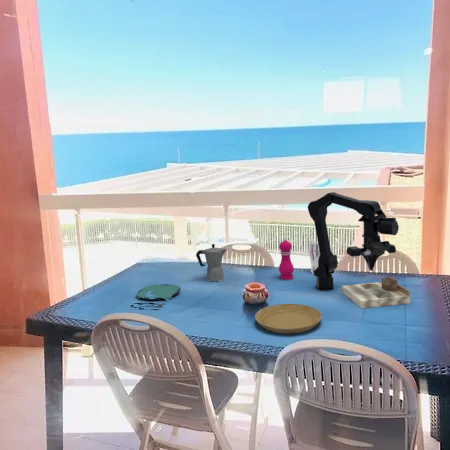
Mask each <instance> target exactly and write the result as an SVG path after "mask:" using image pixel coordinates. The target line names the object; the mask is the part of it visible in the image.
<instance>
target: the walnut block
mask: <svg viewBox="0 0 450 450" xmlns="http://www.w3.org/2000/svg"><path fill="white" fill-rule="evenodd" d="M384 277H385V278H384ZM384 277H381V282H382V289H384V290H385V291H397V284H398V279H397V278H396V277H393V276H388V277H386V276H384Z"/></svg>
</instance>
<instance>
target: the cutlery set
mask: <svg viewBox="0 0 450 450" xmlns="http://www.w3.org/2000/svg"><path fill="white" fill-rule="evenodd" d="M181 288H182V287H180V286H179V285H177V284H167V283H165V284H157V283H156V284H152V285H148V286H144V287H143V288H142V289H140V290H138V291H137V292H136V294H135V297H136V296H137V297H136V298H138V299H139V298H141V299H142V300H146V299H147V300H148V301H149V300H150V301H151V302H152V303H153V302H154V301H155V300H157V301H158V300H165V301H167V300H166V299H169V300H170V299H171V298H172V297H174V296H176V295H177V294H179V293H180V291H181ZM152 290H153V291H152ZM148 291H152V292H151V293H150V294H152V295H155V297H154V296H153V297H151V296H150V297H148V296H147V297H146V295H147V292H148ZM144 293H146V294H144ZM144 295H145V296H144ZM143 297H144V298H143ZM149 298H155V299H149ZM158 305H159V306H157V308H160V307H161V306H162V305H164V304H158ZM162 307H163V306H162ZM139 308H140V307H139Z"/></svg>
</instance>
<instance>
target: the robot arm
mask: <svg viewBox="0 0 450 450" xmlns="http://www.w3.org/2000/svg"><path fill="white" fill-rule="evenodd" d="M332 204H335V205H338V206H342V207H345V208H348V209H351V210H354V211H355V212H357V213H358V214H359V215H361V217H360V218H359V219H358V222H362V223H363V234H361V235H362V238H363V243H362V244H361V247H358V246H356V245H353V246H347V248H346V249H345V250H346V251H345V252H346V254H347V255H348V256H350V257H360V256H362V257H363V258H364V261H365V263H366V265H367V267H368V270H369V271H373V270H374V268H375V265H376V264H377V260H378V258H380V257H381V256H383V255H385V252H387V253H389V254H395V253H397V248H396V246H395V245H394V244H391V242H390V241H389V240H384V241H381V236H380V235H379V234H381V235H388V236H397V234H398V232H399V227H400V226H399V223H398V221H397V218H396V217H393V216H392V217H387V215H386V214H385V212H384V211H383V210H382V208H381V205H380V203H379V202H378V201H377V200H366V199H363V200H361V199H358V198H354V197H349V196H347V195H344V194H340V193H337V192H334V191H332V192H328V193H326V194H324V195H323V196H322V197H320V198H318V199H316V200H311V201H310V202H309V203H308V205H307V210H308V214H309V216H310V218H311V219H312V220H313V223H314V227H315V232H316V239H317V242H318V245H319V251H320V255H319V259H318V267H317V268H316V269H315V270H314V271H313V273H314V274H313V273H312V274H313V275H314V277H316V284H315V288H316V289H317V290H319V291H328V290H329V291H330V290H334V289H335V288H334V278H333V274H334V273H335V271H336V270H337V268H338V264H339V261H338V255H337V254H334V253H333V251H332V248H331V244H330V239H329V238H330V237H329V231H328V226H327V221H326V218H327V215H328V208H329V207H330V206H332Z"/></svg>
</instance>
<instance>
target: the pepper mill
mask: <svg viewBox="0 0 450 450" xmlns="http://www.w3.org/2000/svg"><path fill="white" fill-rule="evenodd" d="M292 247H293V246H292V243H291V242H290V241H288V238H286V237H284V238H283V241H281V242H280V243H279V245H278V249H279V250H280V255H281V259H280V263H279V266H278V272H279V273H280V274H279V279H280V278H281V279H280V280H282V279H284V281H289V280H290V281H291V280H292V278H294V275H293V273H294V271H295V270H294V264H293V262H292V261H291V254H292V253H291V252H292V251H291V250H292Z"/></svg>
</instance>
